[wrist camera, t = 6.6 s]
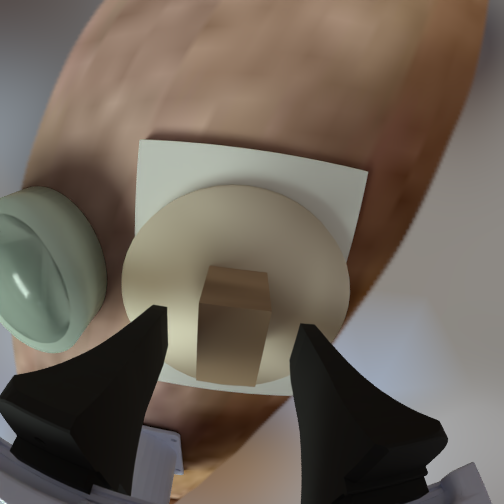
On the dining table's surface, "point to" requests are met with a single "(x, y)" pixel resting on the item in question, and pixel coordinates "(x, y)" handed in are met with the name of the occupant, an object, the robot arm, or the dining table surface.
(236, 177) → the mat
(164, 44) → the dining table surface
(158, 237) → the lid
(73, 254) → the bowl
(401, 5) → the dining table surface
